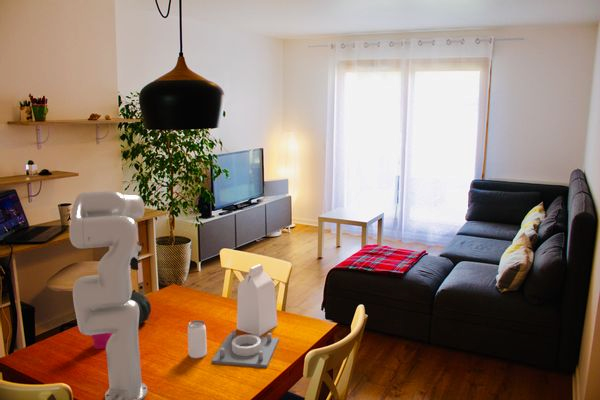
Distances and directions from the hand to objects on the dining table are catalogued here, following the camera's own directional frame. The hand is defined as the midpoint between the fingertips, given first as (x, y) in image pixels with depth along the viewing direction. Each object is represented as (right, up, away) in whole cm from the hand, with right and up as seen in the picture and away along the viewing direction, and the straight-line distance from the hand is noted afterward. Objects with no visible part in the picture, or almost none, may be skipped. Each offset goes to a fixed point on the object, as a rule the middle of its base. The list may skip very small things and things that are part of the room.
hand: (125, 273), depth 187 cm
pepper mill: (-10, -28, +4) cm, 30 cm away
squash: (-4, -24, +23) cm, 33 cm away
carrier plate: (+45, -29, -1) cm, 53 cm away
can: (+28, -29, -3) cm, 40 cm away
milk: (+47, -25, +18) cm, 57 cm away
